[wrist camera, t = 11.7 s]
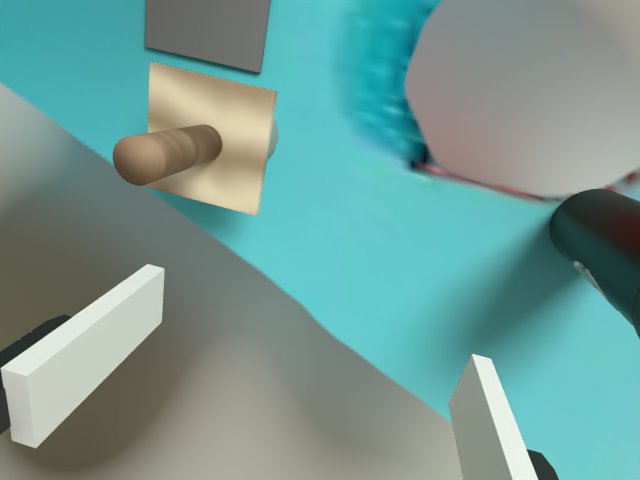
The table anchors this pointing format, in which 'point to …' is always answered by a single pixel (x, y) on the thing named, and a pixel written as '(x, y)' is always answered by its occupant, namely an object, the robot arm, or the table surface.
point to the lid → (201, 139)
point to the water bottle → (603, 245)
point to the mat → (210, 30)
